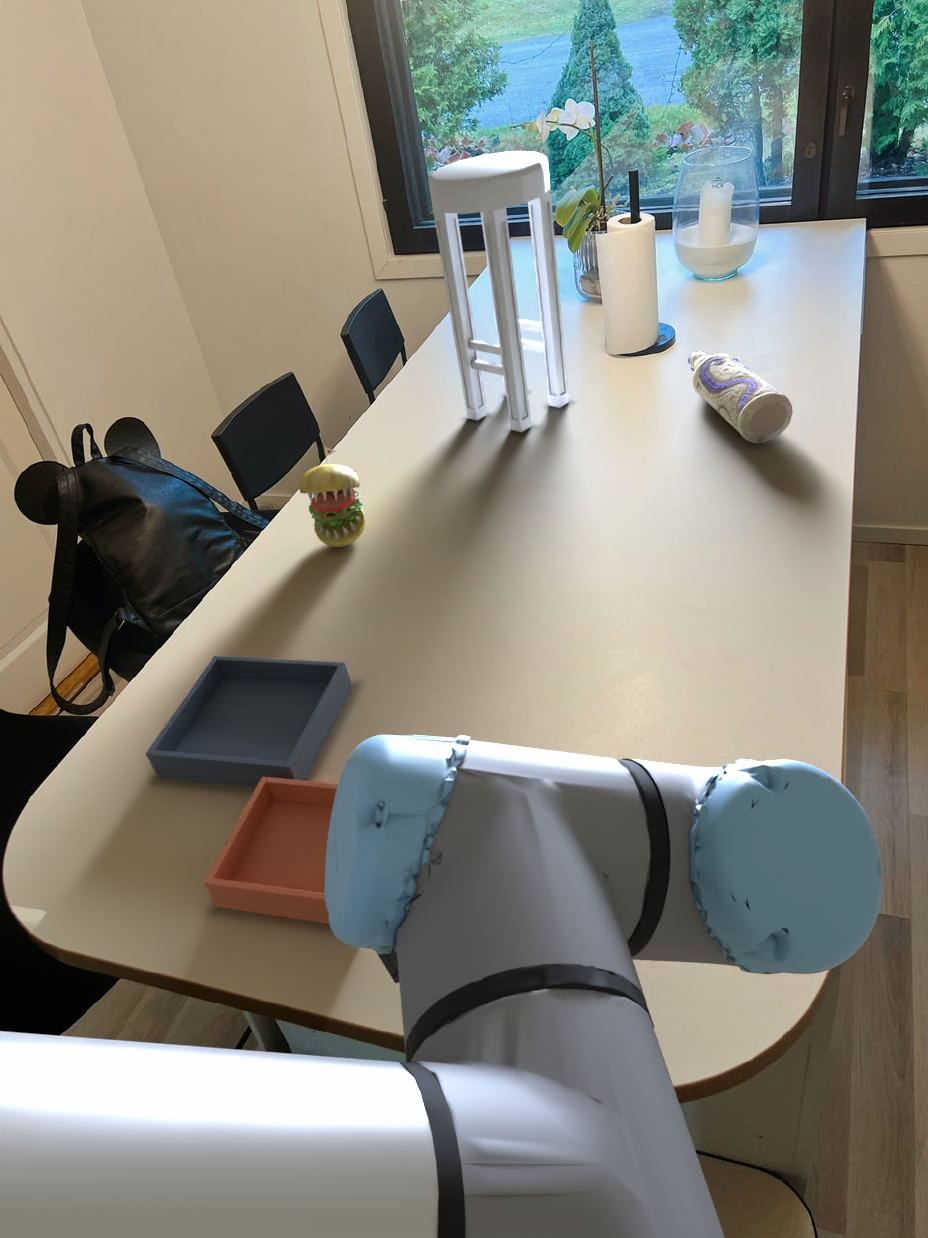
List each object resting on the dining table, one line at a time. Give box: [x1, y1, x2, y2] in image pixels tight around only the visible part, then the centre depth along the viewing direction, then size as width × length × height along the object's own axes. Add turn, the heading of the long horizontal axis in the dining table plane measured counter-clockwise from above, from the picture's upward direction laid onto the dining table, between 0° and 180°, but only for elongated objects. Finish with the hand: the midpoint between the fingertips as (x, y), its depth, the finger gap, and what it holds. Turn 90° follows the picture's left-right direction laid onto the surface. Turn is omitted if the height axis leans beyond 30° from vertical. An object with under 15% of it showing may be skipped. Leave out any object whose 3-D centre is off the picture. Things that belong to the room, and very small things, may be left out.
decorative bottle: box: [687, 350, 794, 444], centre depth 124 cm, size 26×8×7 cm, turn 10°
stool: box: [427, 150, 570, 433], centre depth 126 cm, size 16×16×35 cm
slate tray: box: [145, 655, 353, 788], centre depth 86 cm, size 15×14×3 cm
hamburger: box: [298, 446, 366, 548], centre depth 111 cm, size 8×7×12 cm
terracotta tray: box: [203, 777, 338, 924], centre depth 72 cm, size 13×11×3 cm
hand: (473, 866), depth 63 cm, fingers open, 13 cm apart
